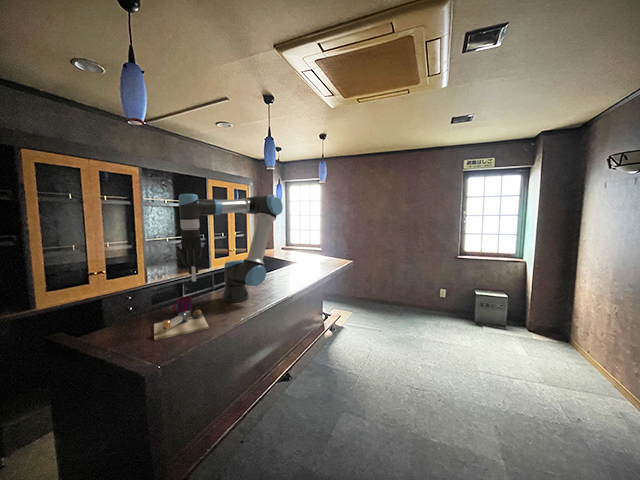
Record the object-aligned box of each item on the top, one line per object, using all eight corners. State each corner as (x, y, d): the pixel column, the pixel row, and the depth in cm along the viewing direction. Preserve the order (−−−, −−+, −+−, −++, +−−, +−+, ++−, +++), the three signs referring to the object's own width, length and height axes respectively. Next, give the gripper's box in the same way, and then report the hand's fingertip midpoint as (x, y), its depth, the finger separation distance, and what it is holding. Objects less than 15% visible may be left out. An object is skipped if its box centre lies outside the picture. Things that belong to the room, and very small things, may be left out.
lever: (192, 317, 120) (192, 309, 120) (167, 331, 104) (167, 322, 104) (186, 316, 120) (185, 308, 120) (160, 331, 105) (160, 322, 104)
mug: (195, 310, 133) (194, 297, 132) (178, 317, 124) (177, 303, 123) (185, 308, 136) (185, 296, 135) (168, 315, 126) (167, 301, 126)
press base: (202, 316, 125) (202, 307, 124) (208, 328, 111) (208, 318, 111) (154, 325, 114) (153, 315, 113) (154, 340, 100) (153, 329, 100)
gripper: (204, 227, 120) (207, 276, 123) (172, 229, 112) (176, 281, 115) (207, 228, 114) (211, 280, 116) (174, 230, 106) (178, 285, 109)
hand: (194, 280), depth 116 cm, fingers closed
